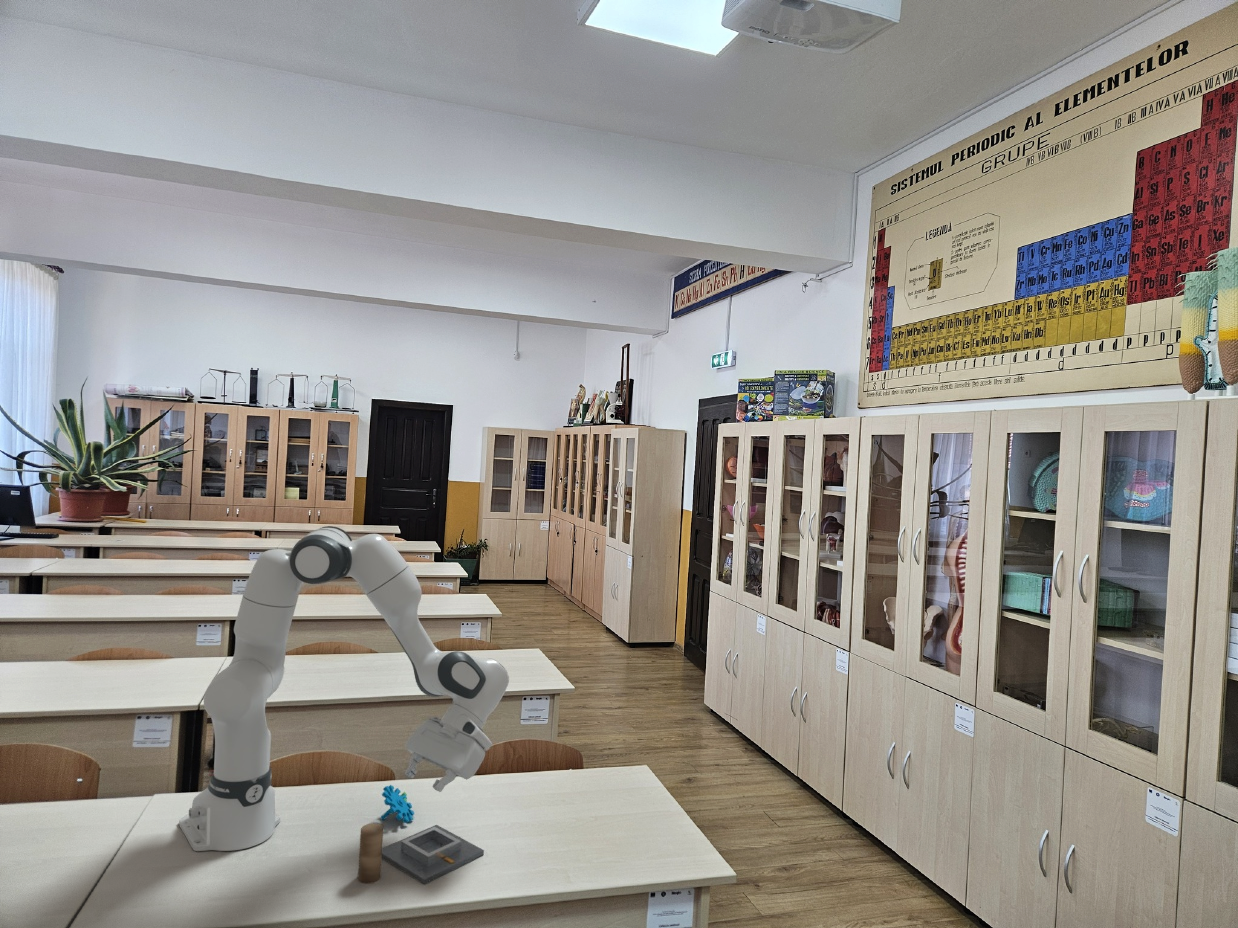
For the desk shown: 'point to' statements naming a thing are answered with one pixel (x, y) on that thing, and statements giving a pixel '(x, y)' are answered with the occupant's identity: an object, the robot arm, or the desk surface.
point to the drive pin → (370, 853)
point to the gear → (397, 804)
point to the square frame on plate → (430, 853)
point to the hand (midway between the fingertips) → (422, 782)
